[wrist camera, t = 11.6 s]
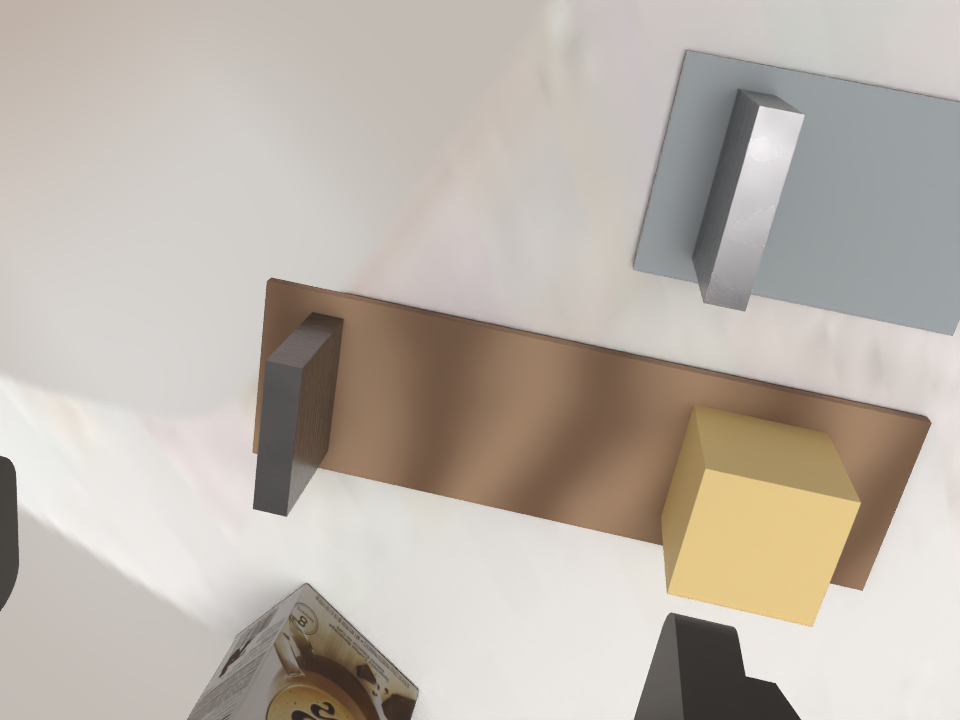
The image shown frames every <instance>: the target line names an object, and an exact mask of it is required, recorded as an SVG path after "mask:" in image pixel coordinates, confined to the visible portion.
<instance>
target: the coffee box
mask: <svg viewBox="0 0 960 720" xmlns="http://www.w3.org/2000/svg"><path fill="white" fill-rule="evenodd" d="M417 697H418V690H417V689H416V688H415V687H414V686H413V685H412V684H411V683H410V682H409V681H408V680H407V679H406V678H405V677H404V676H403V675H402V674H401V673H400V672H399V671H397V670H396V669H395V668H394V667H393V666H392V665H391V664H390V663H389V662H388V661H387V660H386V659H385V658H384V657H383V656H382V655H381V654H380V653H379V652H378V651H377V650H376V649H375V648H374V647H373V646H372V645H370V644H369V643H368V642H367V641H366V640H365V639H364V638H363V637H362V636H361V635H360V634H359V633H358V632H357V631H356V630H355V629H354V628H353V627H352V626H351V625H350V624H349V623H348V622H346V621H345V620H344V619H343V618H342V617H341V616H340V615H339V614H338V613H337V612H336V611H335V610H334V609H333V608H332V607H331V606H330V605H329V604H328V603H327V602H326V601H325V600H324V599H323V598H322V597H321V596H320V595H319V594H317V593H316V592H315V591H314V590H313V589H312V588H311V587H310V586H309V585H308V584H305V585H303V586H302V587H301V588H299V589H298V590H297V591H295V592H294V593H293V594H291V595H290V596H289V597H287V598H286V599H285V600H283V601H282V602H281V603H279V604H278V605H277V606H275V607H274V608H273V609H271V610H270V611H269V612H267V613H266V614H265V615H263V616H262V617H261V618H259V619H258V620H257V621H255V622H254V623H253V624H251V625H250V626H249V627H247V628H246V629H245V630H243V631H242V632H241V633H239V634H238V635H237V636H236V637H235V640H234V642H233V644H232V645H231V647H230V649H229V651H228V653H227V654H226V656H225V658H224V659H223V661H222V662H221V664H220V666H219V667H218V669H217V671H216V672H215V674H214V675H213V677H212V679H211V680H210V682H209V684H208V685H207V687H206V689H205V690H204V692H203V693H202V695H201V697H200V698H199V700H198V702H197V703H196V705H195V707H194V708H193V710H192V712H191V714H190V715H189V717H188V719H187V720H411V717H412V713H413V710H414V707H415V704H416V700H417Z"/></svg>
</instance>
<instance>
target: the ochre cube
mask: <svg viewBox="0 0 960 720" xmlns="http://www.w3.org/2000/svg"><path fill="white" fill-rule="evenodd" d="M860 504H861V502H860V499H859V497H858V495H857V493H856V491H855V489H854V487H853V485H852V483H851V480H850V478H849V476H848V474H847V472H846V470H845V468H844V466H843V464H842V461H841V459H840V457H839V455H838V453H837V451H836V449H835V447H834V444H833V442H832V440H831V438H830V436H829V434H828V433H824V432H819V431H815V430H810V429H805V428H801V427H796V426H792V425H787V424H782V423H778V422H773V421H768V420H764V419H759V418H754V417H750V416H745V415H740V414H736V413H731V412H727V411H722V410H717V409H713V408H708V407H703V406H699V405H694V406H693V410H692V413H691V416H690V420H689V423H688V427H687V430H686V433H685V437H684V440H683V444H682V447H681V450H680V454H679V457H678V461H677V464H676V468H675V471H674V474H673V478H672V481H671V485H670V488H669V491H668V495H667V498H666V502H665V505H664V508H663V512H662V515H661V524H662V537H663V550H664V562H665V575H666V588H667V594H670V595H675V596H679V597H684V598H688V599H692V600H697V601H701V602H705V603H710V604H714V605H718V606H723V607H727V608H732V609H736V610H740V611H745V612H749V613H753V614H758V615H762V616H766V617H771V618H775V619H780V620H784V621H788V622H793V623H797V624H801V625H806V626H810V627H813V624H814V622H815V619H816V616H817V614H818V611H819V609H820V606H821V604H822V601H823V599H824V596H825V594H826V591H827V588H828V586H829V583H830V581H831V578H832V576H833V573H834V571H835V568H836V566H837V563H838V560H839V558H840V555H841V553H842V550H843V548H844V545H845V543H846V540H847V537H848V535H849V532H850V530H851V527H852V525H853V522H854V520H855V517H856V515H857V512H858V509H859V507H860Z"/></svg>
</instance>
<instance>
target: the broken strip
mask: <svg viewBox="0 0 960 720" xmlns="http://www.w3.org/2000/svg"><path fill="white" fill-rule="evenodd" d="M633 270H636V271H641V272H646V273H651V274H656V275H661V276H665V277H670V278H675V279H680V280H685V281H690V282H694V283H699V287H700V291H701V295H702V298H703V302H704V303H707V304H712V305H717V306H722V307H726V308H731V309H736V310H741V311H745V310H746V307H747V304H748V300H749V297H750V294H753V295H757V296H762V297H767V298H772V299H777V300H782V301H786V302H791V303H796V304H801V305H806V306H811V307H815V308H820V309H825V310H830V311H835V312H840V313H844V314H849V315H854V316H859V317H864V318H869V319H873V320H878V321H883V322H888V323H893V324H898V325H903V326H907V327H912V328H917V329H922V330H927V331H932V332H936V333H941V334H946V335H951V336H953V334H954V332H955V329H956V327H957V324H958V322H959V319H960V102H957V101H952V100H947V99H942V98H936V97H931V96H926V95H920V94H915V93H910V92H905V91H899V90H894V89H889V88H884V87H878V86H873V85H868V84H863V83H857V82H852V81H847V80H842V79H836V78H831V77H826V76H821V75H815V74H810V73H805V72H800V71H794V70H789V69H784V68H779V67H773V66H768V65H763V64H757V63H752V62H747V61H742V60H736V59H731V58H726V57H721V56H715V55H710V54H705V53H700V52H694V51H689V50H686V54H685V58H684V62H683V66H682V70H681V74H680V78H679V82H678V86H677V91H676V95H675V99H674V103H673V107H672V111H671V115H670V119H669V123H668V127H667V131H666V135H665V139H664V143H663V147H662V151H661V155H660V159H659V163H658V167H657V171H656V175H655V179H654V183H653V187H652V191H651V195H650V199H649V203H648V207H647V211H646V216H645V220H644V224H643V228H642V232H641V236H640V240H639V244H638V248H637V252H636V256H635V260H634V264H633Z"/></svg>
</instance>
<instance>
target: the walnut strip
mask: <svg viewBox="0 0 960 720" xmlns="http://www.w3.org/2000/svg"><path fill="white" fill-rule="evenodd" d="M694 405H699V406H703V407H708V408H713V409H717V410H722V411H727V412H731V413H736V414H740V415H745V416H750V417H754V418H759V419H764V420H768V421H773V422H778V423H782V424H787V425H792V426H796V427H801V428H805V429H810V430H815V431H819V432H824V433H828V434H829V436H830V438H831V440H832V442H833V444H834V447H835V449H836V451H837V453H838V455H839V457H840V459H841V461H842V464H843V466H844V468H845V470H846V472H847V474H848V476H849V478H850V480H851V483H852V485H853V487H854V489H855V491H856V493H857V495H858V497H859V499H860V502H861V504H860V507H859V509H858V512H857V515H856V517H855V520H854V522H853V525H852V527H851V530H850V532H849V535H848V537H847V540H846V543H845V545H844V548H843V550H842V553H841V555H840V558H839V560H838V563H837V566H836V568H835V571H834V573H833V576H832V578H831V581H830V583H831V584H836V585H840V586H844V587H849V588H853V589H858V590H862V591H863V588H864V586H865V583H866V581H867V579H868V576H869V574H870V571H871V569H872V566H873V564H874V562H875V559H876V557H877V554H878V552H879V549H880V547H881V545H882V542H883V540H884V537H885V535H886V532H887V530H888V528H889V525H890V523H891V520H892V518H893V515H894V513H895V511H896V508H897V506H898V503H899V501H900V498H901V496H902V494H903V491H904V489H905V486H906V484H907V481H908V479H909V477H910V474H911V472H912V469H913V467H914V464H915V462H916V460H917V457H918V455H919V452H920V450H921V447H922V445H923V443H924V440H925V438H926V435H927V433H928V430H929V428H930V426H931V422H930V420H929V419H928V417H924V416H920V415H915V414H910V413H905V412H901V411H896V410H891V409H887V408H882V407H877V406H873V405H868V404H863V403H858V402H854V401H849V400H844V399H840V398H835V397H830V396H826V395H821V394H816V393H811V392H807V391H802V390H797V389H793V388H788V387H783V386H779V385H774V384H769V383H764V382H760V381H755V380H750V379H746V378H741V377H736V376H732V375H727V374H722V373H717V372H713V371H708V370H703V369H699V368H694V367H689V366H685V365H680V364H675V363H670V362H666V361H661V360H656V359H652V358H647V357H642V356H638V355H633V354H628V353H623V352H619V351H614V350H609V349H605V348H600V347H595V346H591V345H586V344H581V343H576V342H572V341H567V340H562V339H558V338H553V337H548V336H543V335H539V334H534V333H529V332H525V331H520V330H515V329H511V328H506V327H501V326H496V325H492V324H487V323H482V322H478V321H473V320H468V319H464V318H459V317H454V316H449V315H445V314H440V313H435V312H431V311H426V310H421V309H417V308H412V307H407V306H402V305H398V304H393V303H388V302H384V301H379V300H374V299H370V298H365V297H360V296H355V295H351V294H346V293H341V292H337V291H332V290H327V289H322V288H317V287H313V286H308V285H303V284H299V283H294V282H290V281H285V280H280V279H275V278H270V279H269V280H268V281H267V286H266V299H265V311H264V322H263V335H262V346H261V358H260V370H259V382H258V394H257V406H256V418H255V430H254V442H253V453H256V454H258V457H257V468H256V480H255V492H254V503H253V509H256V510H260V511H264V512H269V513H273V514H277V515H282V516H286V517H287V516H288V514H289V512H290V511H291V509H292V508H293V506H294V505H295V503H296V501H297V500H298V498H299V497H300V495H301V494H302V492H303V490H304V489H305V487H306V486H307V484H308V483H309V481H310V479H311V478H312V476H313V475H314V473H315V471H316V470H317V468H322V469H327V470H331V471H335V472H340V473H344V474H349V475H353V476H358V477H362V478H366V479H371V480H375V481H380V482H384V483H389V484H393V485H397V486H402V487H406V488H411V489H415V490H420V491H424V492H428V493H433V494H437V495H442V496H446V497H451V498H455V499H459V500H464V501H468V502H473V503H477V504H481V505H486V506H490V507H495V508H499V509H504V510H508V511H512V512H517V513H521V514H526V515H530V516H535V517H539V518H543V519H548V520H552V521H557V522H561V523H566V524H570V525H574V526H579V527H583V528H588V529H592V530H597V531H601V532H605V533H610V534H614V535H619V536H623V537H628V538H632V539H636V540H641V541H645V542H650V543H654V544H659V545H663V537H662V524H661V515H662V512H663V508H664V505H665V502H666V498H667V495H668V491H669V488H670V485H671V481H672V478H673V474H674V471H675V468H676V464H677V461H678V457H679V454H680V450H681V447H682V444H683V440H684V437H685V433H686V430H687V427H688V423H689V420H690V416H691V413H692V410H693V406H694Z"/></svg>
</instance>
